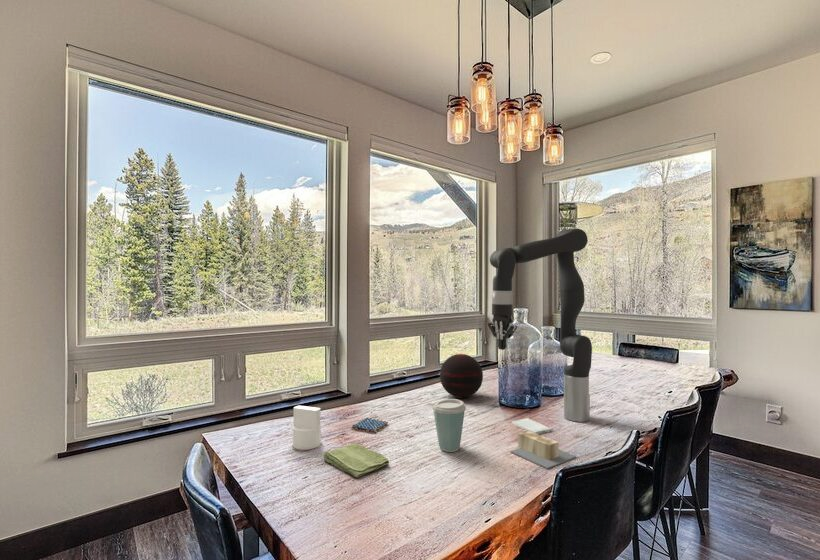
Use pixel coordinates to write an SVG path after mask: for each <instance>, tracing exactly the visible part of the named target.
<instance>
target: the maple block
mask: <svg viewBox="0 0 820 560" xmlns="http://www.w3.org/2000/svg"><path fill="white" fill-rule="evenodd" d="M517 438H518V439H517V443H518V445H517V447H518V448H522V449H524V450H527V451H529V452H531V453H534V454H536V455H538V456H541V457H543V458H545V459H548V460H551V459H554V458H556V457H559V450H560V449H559V446H560V445H559V444H560V443H559V441H557V440H554V439H552V438H549V437H547V436H543V435H542V434H541V435H540V434H536V433H533V432H530V431H528V430H527V431H526V430H524V431H520V432H518V433H517Z"/></svg>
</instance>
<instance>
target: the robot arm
mask: <svg viewBox="0 0 820 560" xmlns="http://www.w3.org/2000/svg"><path fill="white" fill-rule="evenodd" d="M588 241H589V239H588V234H587V233H586V232H585V231H584V230H583V229H581V228H576V227H574V228H568V229H563V230H559V232H557V234H556V236H555V237H551V238H547V239H540V240H535V241H529V242H525V243H522V244H519V245H516V246H512V247H506V248H501V249H497V250H495V251H493V252H492V253H491V254H490V256H489V263H490V265H491V266H492V267H493V268H495V269H497V272H496V274H495V275H494V276H493V278H492V294H491V315H492V319H491V320H492V321H491V322H489V323H487V326H488V328H489V330H490V332H491V334H492V335H493V337H494V338H497V348H498V350H501V351H502V350H503V351H504V350H506V348H507V339H511V338H512V336H513V335H514V334H515V332H516V330H517V329H518V325H516V324H514V323H513V319H512V317H513V300H514V299H513V276H514V274H515V270H516V269H515V268H516V265H517V264H525V263H528V262H531V261H535V260H539V259H542V258H545V257H549V256H552V255H556V259H557V267H558V279H559V281H558V282H559V285H558V286H559V288H558V289H559V290H558V291H559V305H560V329H559V330H560V332H559V349H560V351H561V353H562V354H563V355H564V356H566V357H568V358H569V357H571V358H573V359H572V360H573V361H572V364H570V365H566V366H565V367H564V368H563V418H564V419H566V420H569V421H572V422H580V423H581V422H582V423H583V422H588V421H589V419H590V417H591V416H590V413H591V410H590V409H591V408H590V407H591V406H590V405H591V404H590V402H591V401H590V400H591V395H590V371H591V366H592V357H593V355H592V354H593V345H592V341H591V339H590V337H588V336H586V335H581V334H577V333H576V323H577V319H578V317H579V314H580V313H581V311H582V309H583V307H584V305H585V300H586V299H585V285H584V281H583V279H582V277H581V275H580V273H579V271H578V270H577V267H576V264H575V253H576V252H579V251H582V250H583V249H585V248H586V247H587V244H588Z"/></svg>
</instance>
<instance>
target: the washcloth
mask: <svg viewBox="0 0 820 560" xmlns="http://www.w3.org/2000/svg"><path fill="white" fill-rule="evenodd" d="M323 459H324V461H325V462H326V463H328V464H330V465H331V466H333V467H335V468H337V469H339V470H341V471H343V472H345V473H348V474H350V475H352V476H353V477H355V478H357V479H359V478H361V477H362V476H365V475H366V474H368V473H371V472H374V471H376V470H378V469H380V468H382V467H384V466H386V465H389V463H390V461H389V458H387V456H384V455H383V454H381V453H379V452H376V451H375V450H372V449H369V448H368V447H366V446H365V445H361V444H359V443H350V444H347V445H345V446H342V447H340V448H334V449H332V450H327V451H325V452H324V454H323Z"/></svg>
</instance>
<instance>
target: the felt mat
mask: <svg viewBox="0 0 820 560" xmlns="http://www.w3.org/2000/svg"><path fill="white" fill-rule="evenodd" d="M510 452H511V454H513V455H515V456H517V457H519V458H522V459H524V460H527V461H528V462H531V463H532V464H534V465H537V466H539V467H542V468H544V469H546V470H549V469H552V468H554V467H556V466H559V465H561V464H564V463H565V462H569V461H571V460H574V459H576V458H577V456H576V455H573V454H571V453H569V452H566V451H563V450H560V449H559V457H556V458H554V459H551V460H548V459H545V458H543V457H541V456H538V455H536V454H534V453H531V452H529V451H527V450H524V449H522V448H519V447H518V448H516V449H513V450H510Z"/></svg>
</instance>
